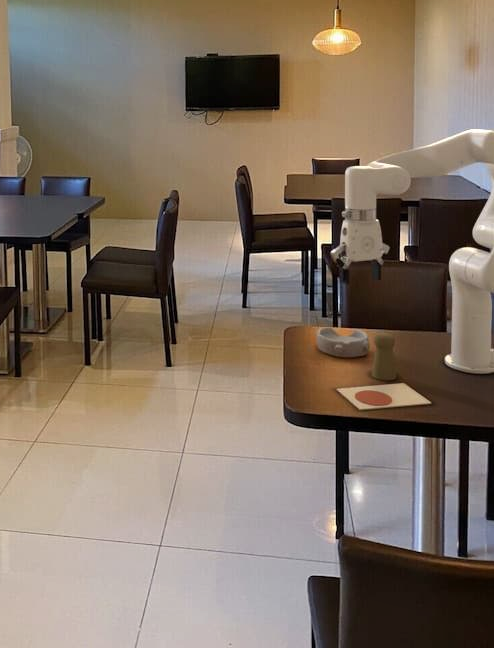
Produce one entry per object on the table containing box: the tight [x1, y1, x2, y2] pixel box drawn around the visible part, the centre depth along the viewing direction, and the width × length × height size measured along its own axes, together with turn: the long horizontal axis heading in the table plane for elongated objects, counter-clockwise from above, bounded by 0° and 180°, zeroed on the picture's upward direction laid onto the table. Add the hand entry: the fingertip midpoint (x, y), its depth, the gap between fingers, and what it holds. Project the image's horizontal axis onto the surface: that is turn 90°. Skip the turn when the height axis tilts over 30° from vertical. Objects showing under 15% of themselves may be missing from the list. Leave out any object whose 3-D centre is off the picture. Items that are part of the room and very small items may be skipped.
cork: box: [371, 332, 397, 381], centre depth 189 cm, size 6×6×11 cm
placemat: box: [336, 382, 433, 411], centre depth 177 cm, size 18×12×1 cm, turn 99°
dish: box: [316, 326, 371, 358], centre depth 208 cm, size 14×14×5 cm
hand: (360, 281), depth 187 cm, fingers open, 9 cm apart
